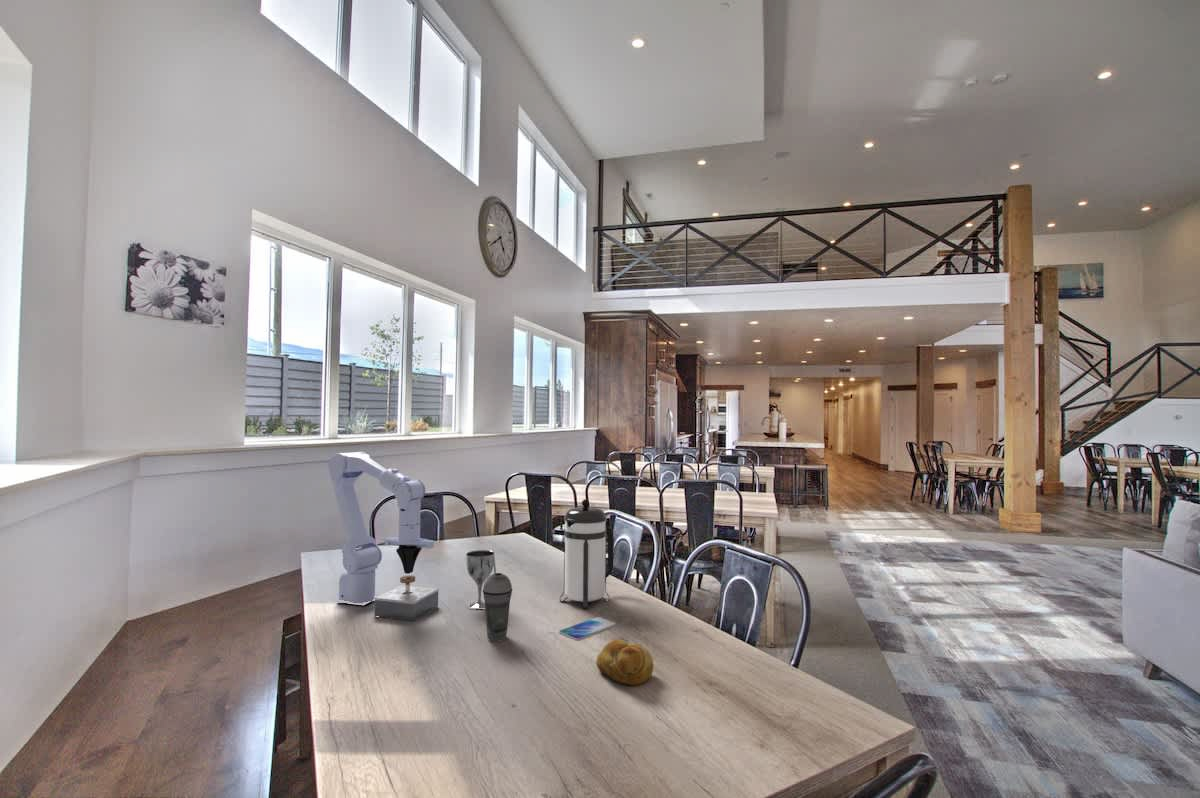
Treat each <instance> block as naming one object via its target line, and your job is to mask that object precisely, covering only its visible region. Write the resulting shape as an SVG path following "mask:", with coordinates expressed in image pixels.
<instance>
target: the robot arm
mask: <svg viewBox="0 0 1200 798" xmlns="http://www.w3.org/2000/svg"><path fill="white" fill-rule="evenodd" d="M327 468H328V471H329V475H330V478H331V482H332V488H333V492H334V495H335V500H336V503H337V506H338V509H339V510H338V511H339V513H340V517H341V521H342V524H343V527H344V532H345V535H346V539H347V542H346V543H345V544H344V545H343V547H342V548H341V553H342V565H343V568H344V571H343V572H342V573H341V575H340V577H339V581H338V583H339V584H338V586H339V587H338V601H339V600H344V601H349V602H353V603H363V602H368V601H372V600H373V599H375V596H376V570H377V569H378V565H379V564H381V562H382V559H383V553H382V549H381V548H380V547H379V545H378V543H377V541H376V539H375V538H373V537H372V536H370V535H369V534H368V533H367V529H366V526H365V522H364V519H363V516H362V515H363V514H362V512H361V511H362V510H361V508H360V505H359V501H358V497H357V494H356V491H355V487H354V485H355V484H356V482H357V481H358V480H359V479H360V478H361V477H362V475H363V474H367V475H369V476H370V477H373V478H375V479H377V480H378V482H379V485H380V487H382V488H384V489H385V490H386V491H389V492H390V493H392V494H393V495H394V497H395V499H396V501H397V507H398V537H386V538H384V546H386V547H387V546H389V547H390V546H393V547H394V546H396V547H398V548H396V550H395V551H396V553H397V555H398V556H399V559H400V561H401V564H402V568H403V573H404V574H408V575H409V574H411V573H413V572H414V568H415V564H416V561H417V558H418V556H419V554H420V552H421V551H422V549H423V548H424V549H434V547H435V540H432V539H427V538H421V502H422V500H423V498H424V496H425V494H426V486H425V484H424V482H422V481H421V480H420V479H411V478H410V476H407V475H404V474H402V473H400V472H399V469H398V468H388V469H386V468H385V467H384V466H382V465H380V464H379V463H378V462H376V461H375V460H373V458H371V455H370V454H367V453H365V452H364V451H357V452H355V451H354V452H335V453H333V454H332V455H331V457H330V459H329V461H328V463H327Z"/></svg>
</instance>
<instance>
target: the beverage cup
mask: <svg viewBox="0 0 1200 798" xmlns="http://www.w3.org/2000/svg"><path fill="white" fill-rule="evenodd" d="M496 567H497V566H496V557H495V554H494V555H493V573H491V574H490V576H489V577H488V578H487V579H486V580H485V582H484V583H483V586H482V596H483V599H484V602H485V610H484V611H485V624H486V625H485V626H486V634H487V640H488V639H489V640H488V641H490V640H491V641H490V642H500V641H499V640H502V641H504V640H506V639H505V638H507V633H508V625H509V615H510V614H509V613H510V607H511V606H510V603H511V597H512V593H513V588H512V587H513V586H512V582H511V580H510V578H509V577H508V576H507V575H506V574H504V573H501V572H497V569H496ZM503 639H504V640H503Z"/></svg>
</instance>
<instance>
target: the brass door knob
mask: <svg viewBox="0 0 1200 798" xmlns="http://www.w3.org/2000/svg"><path fill="white" fill-rule="evenodd" d="M399 580H400V581H399V582H400V583H402V584H404V585H405V594H406V595H409V594H410V586H411V583H412V584H413V583H414V582H416V576H415V575H404V576H403V575H402V576H401V577H399Z"/></svg>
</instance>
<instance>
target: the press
mask: <svg viewBox="0 0 1200 798" xmlns="http://www.w3.org/2000/svg"><path fill="white" fill-rule="evenodd" d="M377 596H378V597H376V598H375V601H374V617H375V616H379V617H378V618H380V617H385V618H384V619H388V618H392V619H391V620H397V619H399V620H398V621H408V622H415V621H417V620H418V619H420V618H422V617H423V616H425V615H426V613H427V614H429V613H430V612H432V611H433V610H435V609H437V608H438V607H439V588H437V587H436V588H434V587H426V586H425V587H424V586H416V585H415V586H413V585H410V594H409V595H406V594H405V584H404V585H403V584H402V585H398V586H397V587H395V588H393V589H391V590H389V591H387V592H384V593H382V594H380V595H377ZM437 606H438V607H437ZM436 607H437V608H436ZM434 608H435V609H434ZM432 609H433V610H432ZM431 610H432V611H431ZM429 611H430V612H429ZM424 614H425V615H424ZM421 616H422V617H421ZM419 617H420V618H419ZM416 619H417V620H416ZM414 620H415V621H414Z"/></svg>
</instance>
